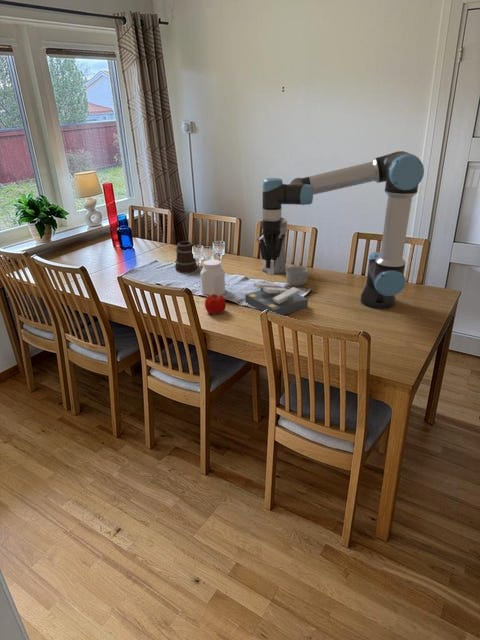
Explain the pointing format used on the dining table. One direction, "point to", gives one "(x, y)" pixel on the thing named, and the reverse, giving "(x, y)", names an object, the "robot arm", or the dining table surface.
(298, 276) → the teacup
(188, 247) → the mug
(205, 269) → the jar
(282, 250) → the vase
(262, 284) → the rocker
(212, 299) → the tomato
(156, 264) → the dining table surface
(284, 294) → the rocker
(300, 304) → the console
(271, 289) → the rocker
